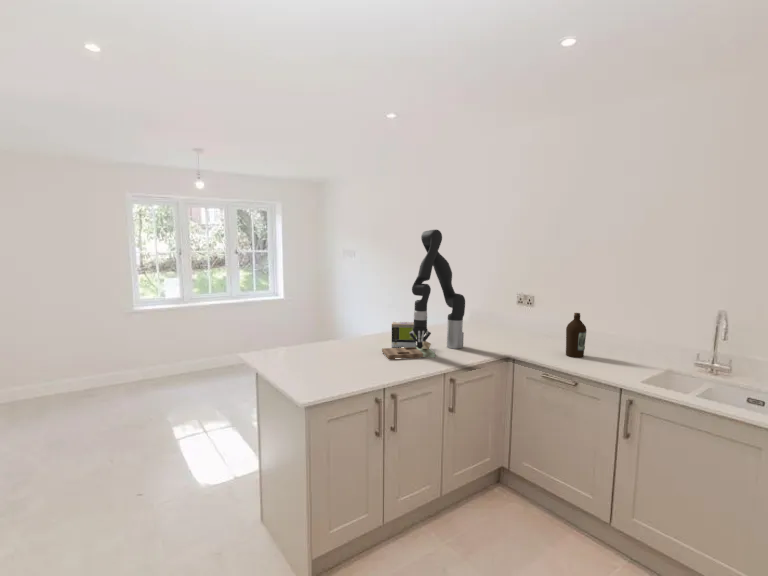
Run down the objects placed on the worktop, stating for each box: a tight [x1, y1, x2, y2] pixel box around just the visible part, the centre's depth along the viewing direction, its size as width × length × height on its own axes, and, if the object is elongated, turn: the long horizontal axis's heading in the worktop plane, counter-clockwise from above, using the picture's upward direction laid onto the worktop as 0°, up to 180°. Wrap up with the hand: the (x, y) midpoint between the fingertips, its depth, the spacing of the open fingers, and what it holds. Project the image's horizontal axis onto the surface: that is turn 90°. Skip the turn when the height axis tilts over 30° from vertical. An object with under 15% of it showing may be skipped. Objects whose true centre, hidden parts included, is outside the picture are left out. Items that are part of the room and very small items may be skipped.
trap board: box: [381, 346, 436, 360], centre depth 241 cm, size 27×15×2 cm, turn 104°
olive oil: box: [565, 312, 587, 359], centre depth 243 cm, size 11×11×25 cm
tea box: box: [391, 321, 417, 348], centre depth 261 cm, size 15×10×15 cm, turn 84°
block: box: [422, 340, 432, 350], centre depth 244 cm, size 4×4×4 cm
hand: (419, 348), depth 242 cm, fingers closed
